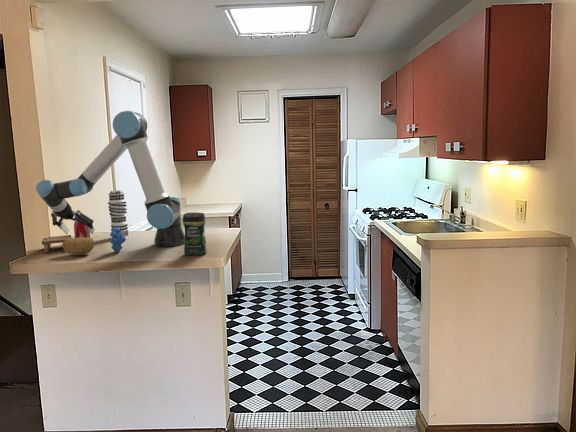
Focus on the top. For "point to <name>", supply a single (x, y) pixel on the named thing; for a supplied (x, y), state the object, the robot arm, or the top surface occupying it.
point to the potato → (78, 245)
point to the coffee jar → (194, 233)
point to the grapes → (116, 239)
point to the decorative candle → (118, 212)
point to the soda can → (81, 230)
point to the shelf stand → (54, 241)
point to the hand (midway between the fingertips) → (80, 231)
